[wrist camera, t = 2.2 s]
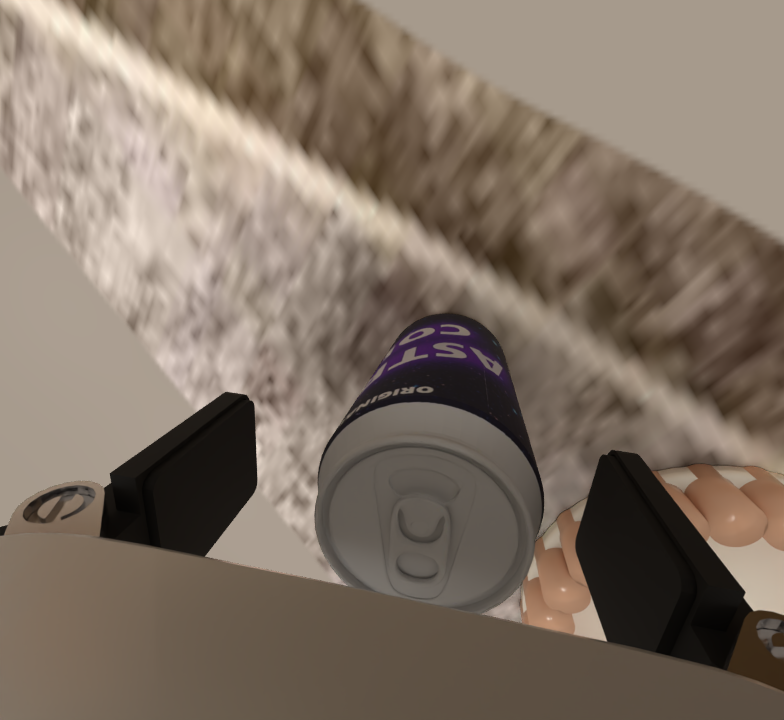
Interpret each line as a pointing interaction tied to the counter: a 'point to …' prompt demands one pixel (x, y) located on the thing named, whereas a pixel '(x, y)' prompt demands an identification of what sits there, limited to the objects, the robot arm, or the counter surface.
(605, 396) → the counter surface
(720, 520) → the round dish
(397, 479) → the beverage can
